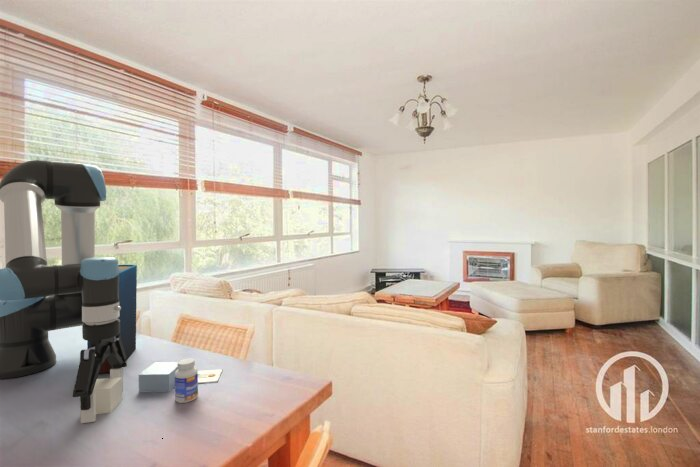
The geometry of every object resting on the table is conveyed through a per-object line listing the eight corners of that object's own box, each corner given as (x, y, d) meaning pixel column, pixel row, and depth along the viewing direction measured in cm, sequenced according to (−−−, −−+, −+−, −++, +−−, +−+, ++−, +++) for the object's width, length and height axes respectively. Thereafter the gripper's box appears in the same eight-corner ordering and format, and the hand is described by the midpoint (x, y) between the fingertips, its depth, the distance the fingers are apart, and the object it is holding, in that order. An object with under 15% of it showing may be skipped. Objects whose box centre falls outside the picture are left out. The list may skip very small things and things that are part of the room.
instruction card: (179, 384, 97) (179, 383, 97) (187, 372, 105) (187, 371, 105) (217, 382, 99) (217, 380, 99) (222, 370, 107) (222, 368, 106)
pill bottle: (189, 404, 87) (188, 366, 86) (170, 402, 88) (169, 364, 87) (202, 394, 92) (202, 358, 91) (184, 392, 93) (183, 356, 93)
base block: (139, 392, 93) (138, 374, 93) (155, 379, 101) (154, 362, 101) (169, 392, 93) (168, 374, 93) (182, 378, 101) (182, 362, 101)
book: (110, 348, 124) (110, 264, 123) (138, 346, 127) (138, 264, 126) (81, 377, 101) (81, 274, 100) (116, 374, 104) (117, 274, 103)
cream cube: (82, 415, 82) (82, 390, 82) (96, 402, 88) (96, 379, 88) (110, 412, 83) (110, 388, 83) (122, 400, 89) (122, 377, 89)
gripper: (90, 336, 73) (92, 434, 74) (139, 307, 97) (141, 382, 98) (49, 338, 72) (53, 438, 73) (110, 308, 96) (112, 384, 97)
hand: (103, 406), depth 85 cm, fingers open, 13 cm apart
